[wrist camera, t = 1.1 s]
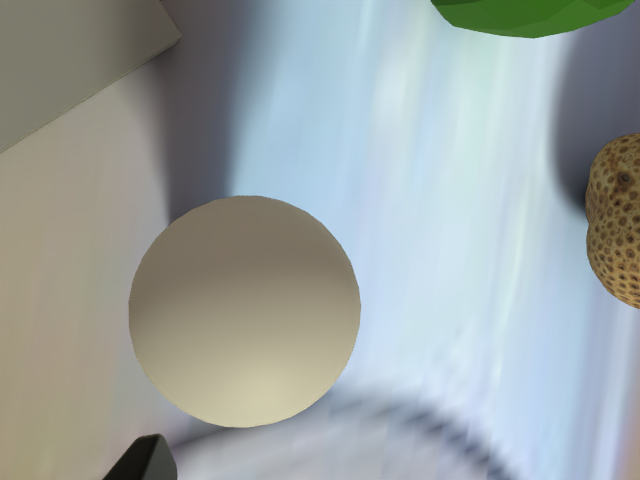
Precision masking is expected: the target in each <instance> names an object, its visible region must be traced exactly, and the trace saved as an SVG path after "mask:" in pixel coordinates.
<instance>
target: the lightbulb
mask: <svg viewBox="0 0 640 480" xmlns="http://www.w3.org/2000/svg"><path fill="white" fill-rule="evenodd" d="M360 312H361V303H360V294H359V287H358V284H357V281H356V277H355V274H354V271H353V268H352V265H351V262H350V260H349V259H348V257H347V255H346V253H345V251H344V250H343V248H342V246H341V244H340V243H339V242H338V241H337V240H336V239H335V237H334V236H333V235H332V234H331V233H330V232H329V231H328V230H327V228H326V227H325V226H324V225H323V224H322V223H321V222H319V221H318V220H317V219H315V218H314V217H313V216H311V215H310V214H309V213H307V212H306V211H304V210H301V209H299V208H297V207H295V206H293V205H291V204H288V203H286V202H283V201H280V200H276V199H271V198H267V197H263V196H233V197H228V198H222V199H217V200H214V201H211V202H209V203H206V204H204V205H201V206H199V207H196V208H194V209H192V210H191V211H189V212H187V213H186V214H184V215H183V216H181V217H180V218H178V219H177V220H175V221H174V222H173V223H171V224H170V225H169V226H168V227H167V228H166V229H165V230H164V231H163V232H162V233H161V234H160V235H159V236H158V237H157V238H156V239H155V241H154V242H153V244H152V245H151V246H150V248H149V249H148V251H147V252H146V253H145V255H144V256H143V258H142V260H141V263H140V265H139V267H138V269H137V272H136V274H135V276H134V279H133V283H132V288H131V293H130V297H129V330H130V335H131V339H132V343H133V347H134V352H135V355H136V357H137V359H138V361H139V363H140V365H141V367H142V369H143V371H144V373H145V374H146V375H147V377H148V378H149V379H150V381H151V382H152V383H153V384H154V385H155V387H156V388H157V389H158V390H159V391H160V393H161V394H162V395H163V396H164V397H165V398H166V399H167V400H169V401H170V402H171V403H173V404H174V405H175V406H177V407H178V408H179V409H181V410H182V411H184V412H186V413H188V414H190V415H192V416H194V417H196V418H199V419H201V420H203V421H205V422H207V423H212V424H216V425H221V426H225V427H253V426H259V425H265V424H271V423H275V422H278V421H281V420H283V419H286V418H289V417H292V416H293V415H295V414H297V413H299V412H301V411H302V410H304V409H306V408H308V407H309V406H310V405H312V404H313V403H314V402H315V401H317V400H318V399H319V398H320V397H322V396H323V395H324V394H325V393H326V392H327V390H328V389H329V388H330V387H331V386H332V385H333V384H334V383H335V382H336V380H337V379H338V377H339V376H340V374H341V373H342V371H343V370H344V368H345V366H346V364H347V362H348V360H349V358H350V355H351V353H352V351H353V348H354V345H355V341H356V337H357V333H358V330H359V325H360Z"/></svg>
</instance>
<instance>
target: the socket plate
mask: <svg viewBox="0 0 640 480" xmlns="http://www.w3.org/2000/svg"><path fill="white" fill-rule="evenodd" d="M181 37H182V34H181V33H180V31H179V30H178V28H177V27H176V25H175V23H174V22H173V20H172V19H171V17H170V16H169V14H168V13H167V11H166V10H165V8H164V7H163V5H162V4H161V2H160V0H0V153H2V152H3V151H5V150H6V149H8V148H10V147H11V146H13V145H14V144H16V143H18V142H19V141H21V140H22V139H24V138H26V137H27V136H29V135H30V134H32V133H34V132H35V131H37V130H38V129H40V128H42V127H43V126H45V125H46V124H48V123H50V122H51V121H53V120H54V119H56V118H58V117H59V116H61V115H62V114H64V113H66V112H67V111H69V110H70V109H72V108H74V107H75V106H77V105H78V104H80V103H82V102H83V101H85V100H86V99H88V98H90V97H91V96H93V95H94V94H96V93H98V92H99V91H101V90H102V89H104V88H106V87H107V86H109V85H111V84H112V83H114V82H115V81H117V80H119V79H120V78H122V77H123V76H125V75H127V74H128V73H130V72H131V71H133V70H135V69H136V68H138V67H139V66H141V65H143V64H144V63H146V62H147V61H149V60H151V59H152V58H154V57H155V56H157V55H159V54H160V53H162V52H163V51H165V50H167V49H168V48H170V47H171V46H173V45H175V44H176V43H177V42H178V41H179V40H180V38H181Z"/></svg>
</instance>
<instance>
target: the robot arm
mask: <svg viewBox="0 0 640 480" xmlns="http://www.w3.org/2000/svg"><path fill="white" fill-rule="evenodd" d="M102 480H177V467H176V463H175V461H174V459H173V456H172V454H171V452H170V449H169V447H168V445H167V442H166V440H165V438H164V436H163V435H161V434H152V435H147V436H141V437H139V438H137V439H136V440H135V441H134V442H133V443H132V445H131V446H130V447H129V448H128V449H127V451H126V452H125V453H124V454H123V455H122V457H121V458H120V459H119V460H118V461H117V463H116V464H115V465H114V466H113V467H112V469H111V470H110V471H109V472H108V473H107V475H106V476H105V477H104V478H103V479H102Z"/></svg>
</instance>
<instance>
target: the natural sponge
mask: <svg viewBox="0 0 640 480" xmlns="http://www.w3.org/2000/svg"><path fill="white" fill-rule="evenodd" d="M585 207H586V216H587V220H588V223H589V226H588V231H587V238H586V244H587V256H588V259H589V262H590V265H591V268H592V270H593V271H594V273H595V274H596V276H597V277H598V279H599V280H600V281H601V283H602V284H603V286H604V287H605V288H606V290H607V291H608V292H609V293H611V294H612V295H613V296H615V297H616V298H618V299H619V300H621V301H623V302H624V303H626V304H628V305H630V306H632V307H635V308H637V309H640V133H634V134H629V135H625V136H621V137H618V138H616V139H614V140H612V141H610V142H609V143H607V144H606V145H605V146H604V147H603V148H602V149H601V150H600V151H599V153H598V154H597V155H596V157H595V159H594V161H593V163H592V165H591V169H590V176H589V183H588V187H587V190H586V196H585Z"/></svg>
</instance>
